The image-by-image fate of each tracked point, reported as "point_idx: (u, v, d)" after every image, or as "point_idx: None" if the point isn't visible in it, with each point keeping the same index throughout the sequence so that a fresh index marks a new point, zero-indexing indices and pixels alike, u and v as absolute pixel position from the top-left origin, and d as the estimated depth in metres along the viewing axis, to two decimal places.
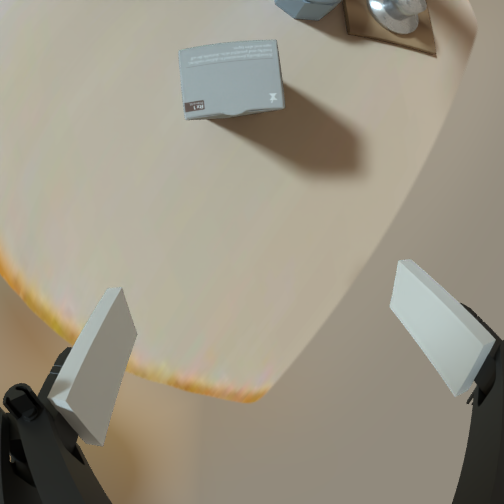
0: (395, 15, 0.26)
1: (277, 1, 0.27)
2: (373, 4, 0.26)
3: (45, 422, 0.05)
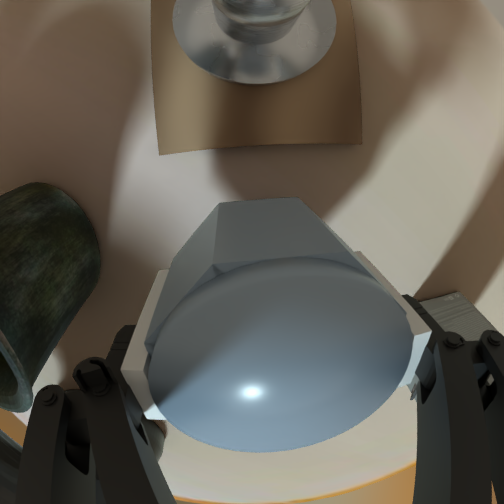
0: None
1: None
2: (264, 70, 0.13)
3: (117, 399, 0.06)
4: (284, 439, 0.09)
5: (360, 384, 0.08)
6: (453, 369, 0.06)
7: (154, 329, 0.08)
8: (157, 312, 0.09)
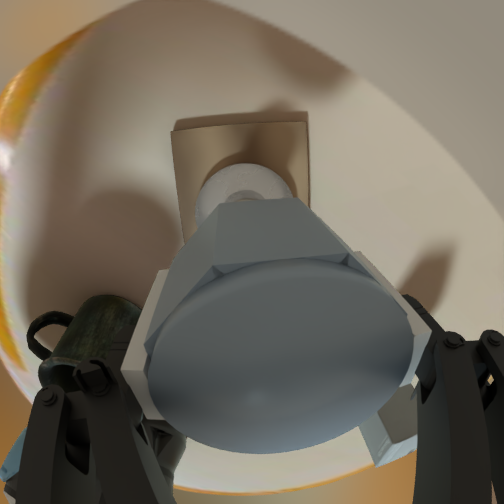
0: None
1: None
2: None
3: (117, 399, 0.06)
4: (284, 440, 0.09)
5: (361, 386, 0.08)
6: (453, 369, 0.06)
7: (154, 331, 0.08)
8: (157, 313, 0.09)
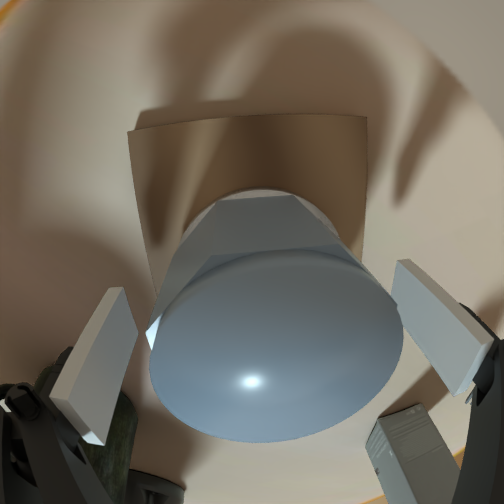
0: None
1: None
2: None
3: (47, 421, 0.05)
4: (280, 428, 0.10)
5: (353, 373, 0.09)
6: None
7: (155, 319, 0.08)
8: (158, 304, 0.09)
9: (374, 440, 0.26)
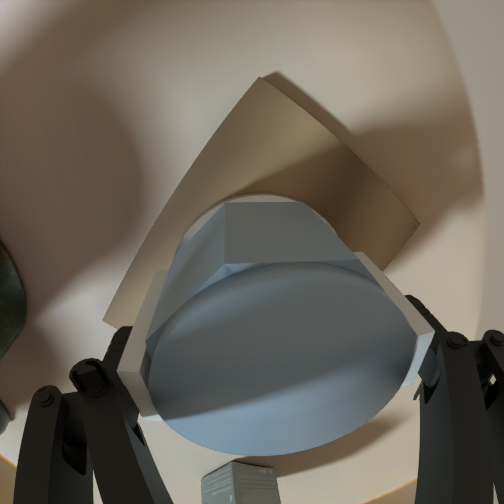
0: None
1: None
2: None
3: (114, 400, 0.06)
4: (279, 443, 0.09)
5: (360, 391, 0.08)
6: (456, 369, 0.06)
7: (157, 327, 0.08)
8: (159, 310, 0.09)
9: (217, 478, 0.25)
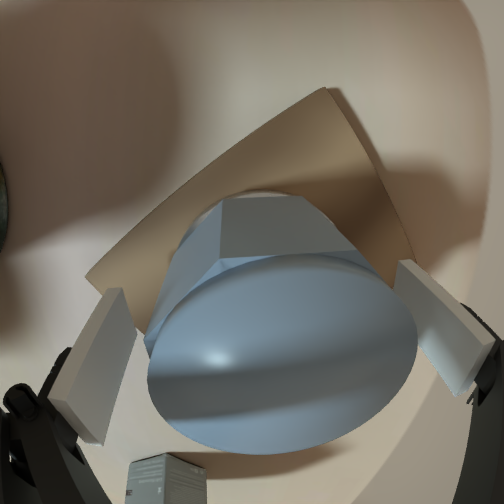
0: None
1: None
2: None
3: (45, 422, 0.05)
4: (284, 441, 0.09)
5: (364, 386, 0.08)
6: None
7: (155, 326, 0.08)
8: (157, 308, 0.09)
9: (147, 466, 0.24)
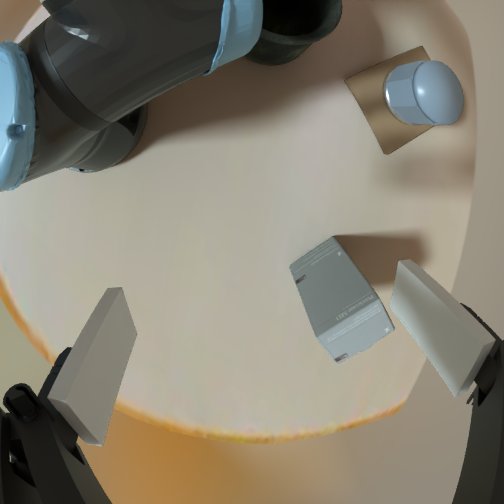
0: None
1: None
2: None
3: (45, 422, 0.05)
4: (455, 109, 0.26)
5: (449, 80, 0.24)
6: None
7: (414, 100, 0.26)
8: (409, 102, 0.27)
9: (316, 252, 0.40)
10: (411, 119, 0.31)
